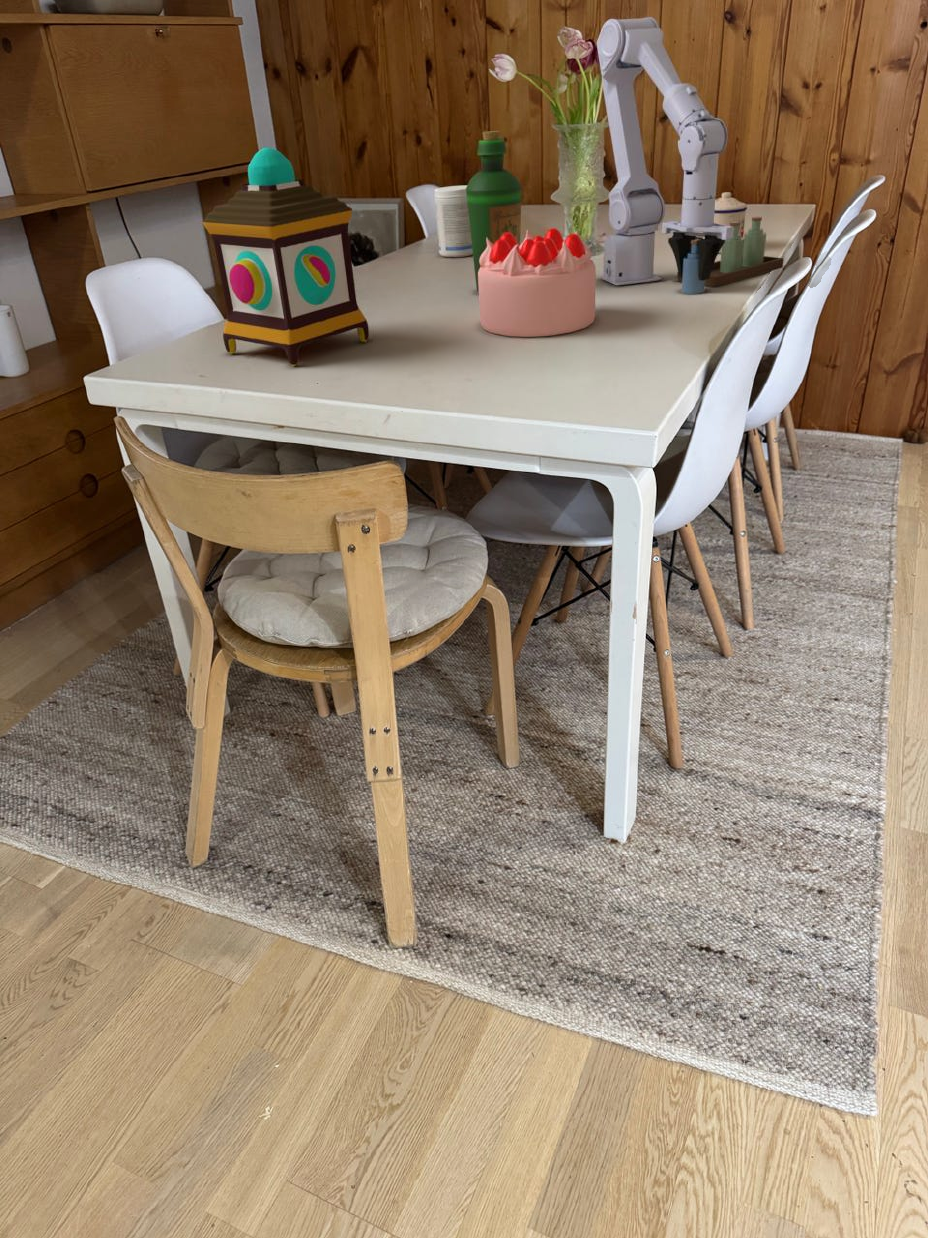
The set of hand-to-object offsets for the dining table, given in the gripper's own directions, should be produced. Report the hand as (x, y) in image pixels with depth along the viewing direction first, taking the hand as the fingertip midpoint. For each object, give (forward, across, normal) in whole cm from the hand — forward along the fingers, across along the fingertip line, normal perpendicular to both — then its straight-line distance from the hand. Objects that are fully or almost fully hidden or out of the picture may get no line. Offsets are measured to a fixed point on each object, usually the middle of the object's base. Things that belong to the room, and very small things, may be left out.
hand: (693, 277), depth 167 cm
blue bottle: (+2, 0, 0) cm, 2 cm away
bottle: (+3, -32, -20) cm, 38 cm away
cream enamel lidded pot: (+3, -22, +38) cm, 44 cm away
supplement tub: (+3, -72, +1) cm, 72 cm away
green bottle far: (+2, -4, +23) cm, 23 cm away
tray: (+2, -4, +16) cm, 17 cm away
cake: (+3, -6, -34) cm, 34 cm away
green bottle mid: (+2, -4, +16) cm, 16 cm away
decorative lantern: (+3, -27, -69) cm, 74 cm away
